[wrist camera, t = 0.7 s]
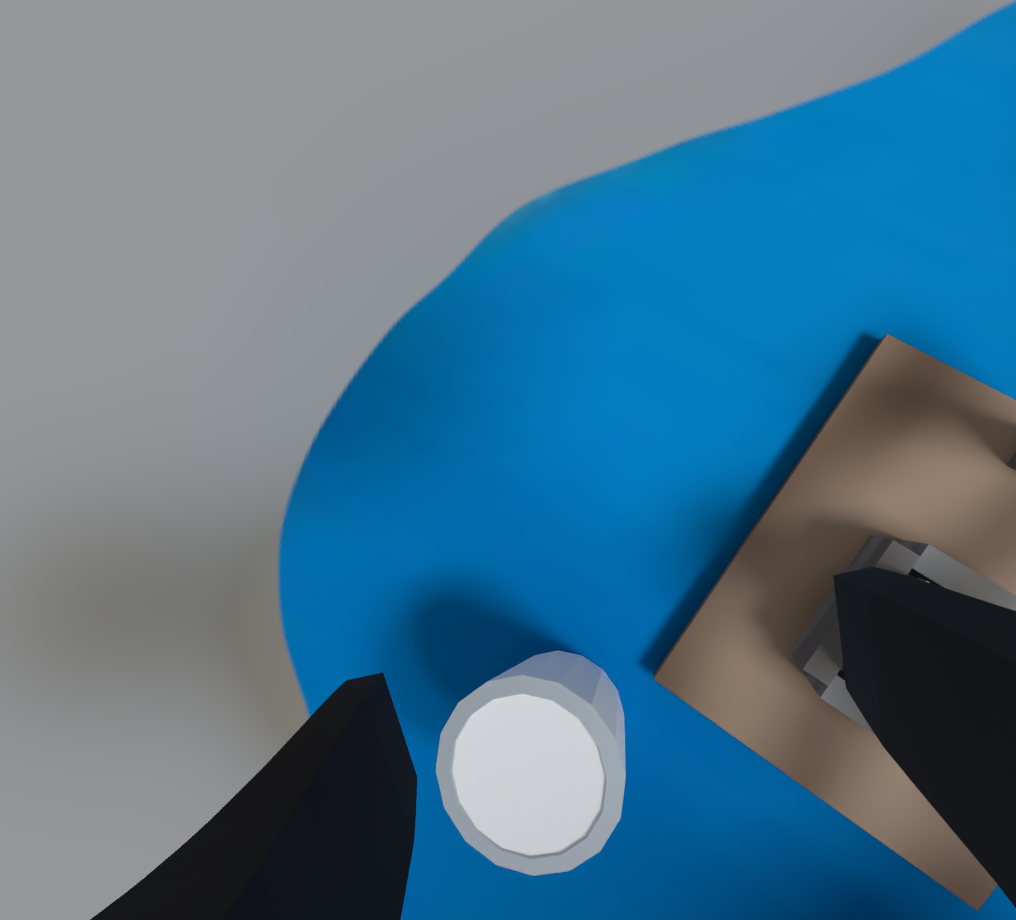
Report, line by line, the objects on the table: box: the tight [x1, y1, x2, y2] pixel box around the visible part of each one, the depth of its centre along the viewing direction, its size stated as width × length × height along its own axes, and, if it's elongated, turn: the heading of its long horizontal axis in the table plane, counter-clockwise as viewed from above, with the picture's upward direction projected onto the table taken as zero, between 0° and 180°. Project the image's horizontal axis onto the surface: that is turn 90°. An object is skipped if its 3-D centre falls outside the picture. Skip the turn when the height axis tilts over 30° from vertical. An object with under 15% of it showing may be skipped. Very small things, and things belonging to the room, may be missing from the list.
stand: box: [653, 334, 1016, 911], centre depth 22 cm, size 14×17×9 cm
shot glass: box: [436, 650, 626, 876], centre depth 27 cm, size 7×7×7 cm
